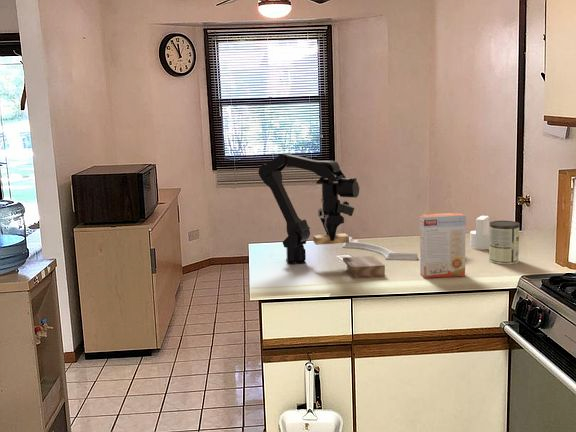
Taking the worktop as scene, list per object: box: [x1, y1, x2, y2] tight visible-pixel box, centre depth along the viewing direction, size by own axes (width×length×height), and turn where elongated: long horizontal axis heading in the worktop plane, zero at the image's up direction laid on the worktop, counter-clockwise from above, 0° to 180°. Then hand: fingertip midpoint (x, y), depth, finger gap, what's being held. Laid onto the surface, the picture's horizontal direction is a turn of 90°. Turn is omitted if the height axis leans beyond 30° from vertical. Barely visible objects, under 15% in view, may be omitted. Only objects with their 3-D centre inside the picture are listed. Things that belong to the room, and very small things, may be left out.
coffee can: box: [488, 220, 521, 265], centre depth 221 cm, size 10×10×14 cm
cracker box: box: [419, 212, 467, 279], centre depth 205 cm, size 14×6×21 cm, turn 92°
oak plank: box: [312, 232, 350, 246], centre depth 222 cm, size 12×5×2 cm, turn 99°
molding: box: [342, 236, 418, 261], centre depth 244 cm, size 42×12×3 cm, turn 33°
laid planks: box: [342, 255, 386, 279], centre depth 213 cm, size 12×14×4 cm
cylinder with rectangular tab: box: [469, 215, 490, 250], centre depth 244 cm, size 9×9×12 cm
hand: (331, 239), depth 222 cm, fingers closed on oak plank, 5 cm apart
